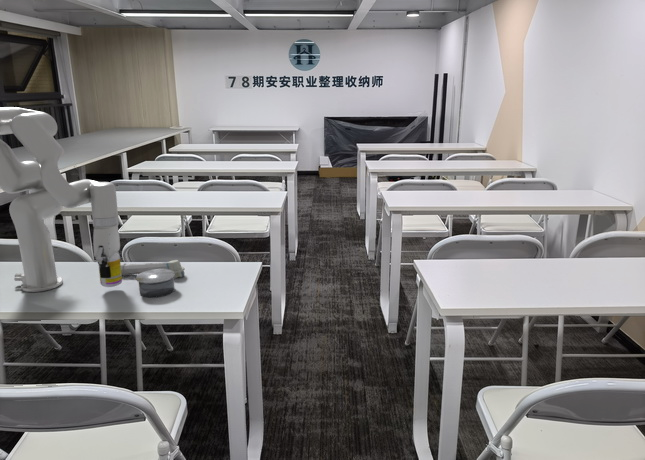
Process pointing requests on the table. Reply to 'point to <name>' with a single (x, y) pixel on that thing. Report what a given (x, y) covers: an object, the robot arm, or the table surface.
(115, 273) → the supplement bottle
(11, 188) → the robot arm
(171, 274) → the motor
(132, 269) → the light grey long piece
